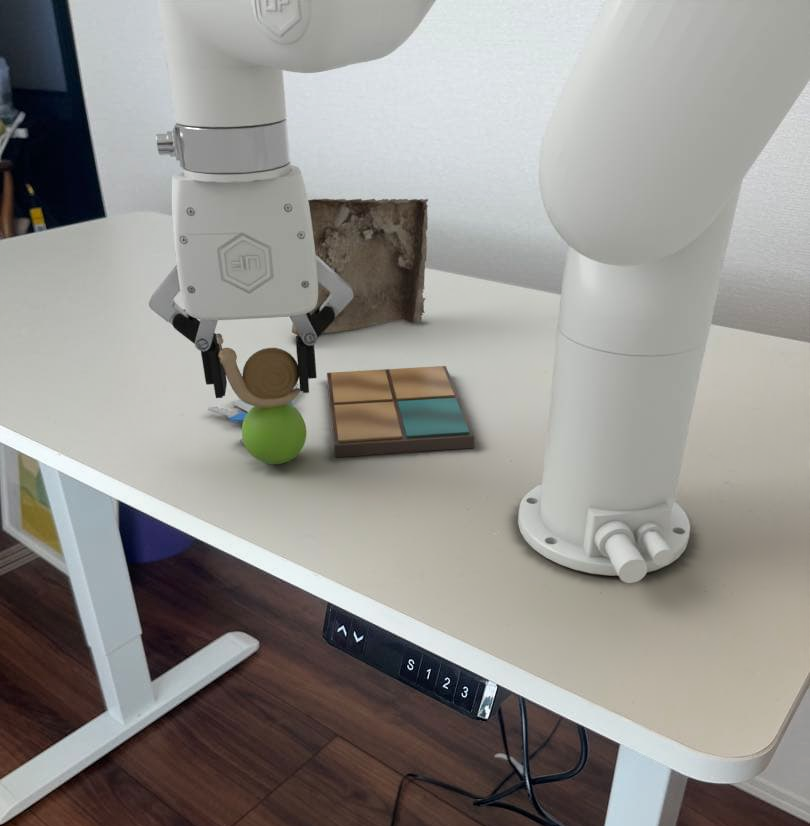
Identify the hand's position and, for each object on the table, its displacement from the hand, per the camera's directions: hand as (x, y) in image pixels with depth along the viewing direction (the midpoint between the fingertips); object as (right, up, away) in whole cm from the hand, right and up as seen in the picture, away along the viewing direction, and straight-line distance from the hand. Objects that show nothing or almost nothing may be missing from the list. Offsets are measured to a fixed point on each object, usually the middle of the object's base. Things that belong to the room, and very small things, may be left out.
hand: (263, 386), depth 67 cm
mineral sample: (+6, +12, +30) cm, 33 cm away
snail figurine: (0, -6, +4) cm, 7 cm away
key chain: (-3, -1, +11) cm, 11 cm away
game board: (+11, 0, +12) cm, 16 cm away
